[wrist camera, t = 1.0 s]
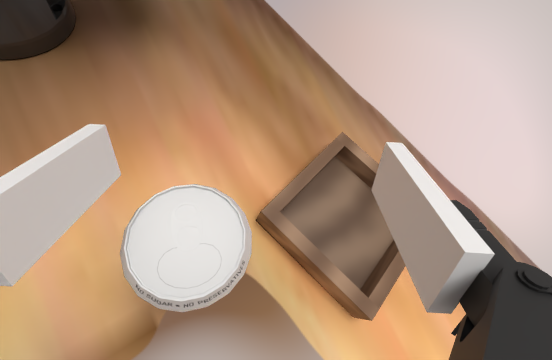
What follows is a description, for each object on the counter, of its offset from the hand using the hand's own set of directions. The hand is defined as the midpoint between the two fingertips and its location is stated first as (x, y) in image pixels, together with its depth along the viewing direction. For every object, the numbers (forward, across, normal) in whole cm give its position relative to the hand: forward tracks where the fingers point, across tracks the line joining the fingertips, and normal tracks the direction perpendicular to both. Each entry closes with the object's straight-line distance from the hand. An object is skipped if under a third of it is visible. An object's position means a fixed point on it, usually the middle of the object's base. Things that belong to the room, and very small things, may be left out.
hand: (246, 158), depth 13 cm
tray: (+15, +10, -17) cm, 25 cm away
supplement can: (+8, -6, -18) cm, 21 cm away
